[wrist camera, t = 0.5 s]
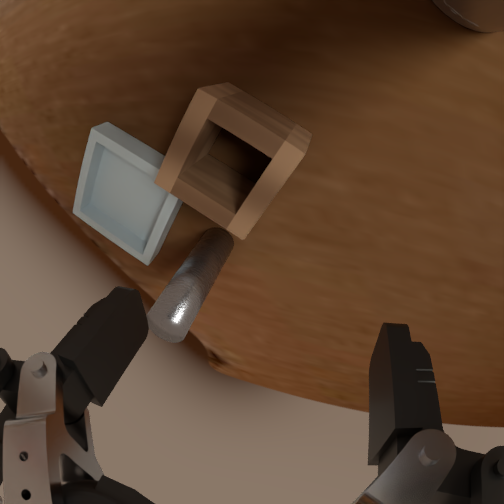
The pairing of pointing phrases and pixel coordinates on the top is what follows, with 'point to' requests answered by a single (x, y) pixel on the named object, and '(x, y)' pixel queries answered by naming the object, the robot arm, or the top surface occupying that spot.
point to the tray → (124, 192)
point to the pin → (190, 286)
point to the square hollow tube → (220, 175)
